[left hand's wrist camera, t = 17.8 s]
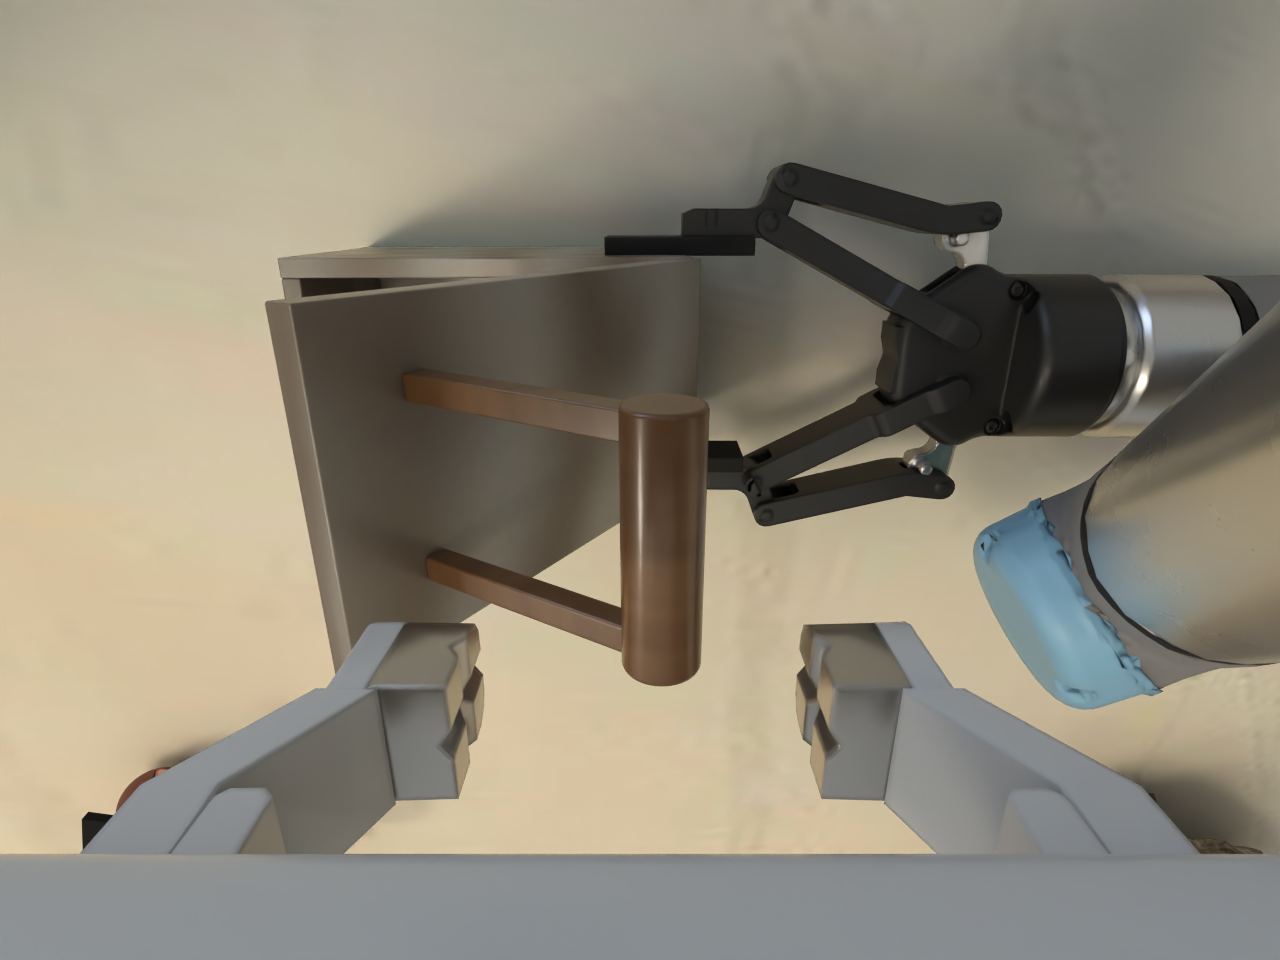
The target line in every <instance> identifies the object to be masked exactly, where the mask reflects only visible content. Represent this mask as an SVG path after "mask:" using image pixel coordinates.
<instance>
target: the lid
mask: <svg viewBox="0 0 1280 960" xmlns="http://www.w3.org/2000/svg"><path fill="white" fill-rule="evenodd" d="M699 297H700V258H674V259H665V260H655V261H646V262H636V263H627V264H617V265H607V266H598V267H588V268H579V269H569V270H559V271H550V272H540V273H531V274H521V275H512V276H502V277H492V278H483V279H473V280H464V281H454V282H444V283H435V284H425V285H416V286H406V287H397V288H387V289H377V290H368V291H358V292H349V293H339V294H329V295H320V296H310V297H301V298H291V299H282V300H272V301H267V302H265V306H266V312H267V317H268V322H269V327H270V333H271V338H272V343H273V348H274V354H275V359H276V364H277V369H278V375H279V380H280V385H281V390H282V396H283V401H284V406H285V412H286V417H287V422H288V427H289V433H290V438H291V443H292V448H293V454H294V459H295V464H296V469H297V475H298V480H299V485H300V490H301V496H302V501H303V506H304V512H305V517H306V522H307V527H308V533H309V538H310V543H311V548H312V554H313V559H314V564H315V569H316V575H317V580H318V585H319V590H320V596H321V601H322V606H323V612H324V617H325V622H326V627H327V633H328V638H329V643H330V648H331V654H332V659H333V664H334V669H335V674H336V673H337V672H338V670H339V669H340V667H341V666H342V664H343V663H344V661H345V660H346V658H347V657H348V655H349V654H350V652H351V651H352V649H353V648H354V646H355V645H356V643H357V642H358V640H359V639H360V637H361V636H362V634H363V633H364V631H365V630H366V628H367V627H368V626H369V625H370V624H372V623H375V622H406V623H409V622H419V623H461V622H462V621H464V620H465V619H467V618H469V617H470V616H472V615H473V614H475V613H476V612H478V611H480V610H481V609H483V608H484V607H486V606H488V605H489V604H491V603H492V604H495V605H497V606H500V607H503V608H505V609H508V610H511V611H513V612H516V613H519V614H521V615H524V616H527V617H529V618H532V619H535V620H537V621H540V622H543V623H545V624H548V625H551V626H553V627H556V628H559V629H561V630H564V631H567V632H569V633H572V634H575V635H577V636H580V637H583V638H585V639H588V640H591V641H593V642H596V643H599V644H601V645H604V646H607V647H609V648H612V649H614V650H617V651H620V652H622V664H623V667H624V669H625V671H626V672H627V673H628V674H629V675H630V676H631V677H632V678H633V679H635V680H637V681H639V682H641V683H644V684H648V685H653V686H672V685H677V684H680V683H683V682H685V681H687V680H689V679H690V678H692V677H693V676H694V675H695V674H696V673H697V671H698V669H699V667H700V664H701V642H702V613H703V583H704V554H705V524H706V495H707V466H708V436H709V406H708V404H707V403H706V402H705V401H703V400H701V399H698V398H697V371H698V334H699ZM618 523H620V560H621V608H620V607H617V606H614V605H611V604H608V603H605V602H602V601H599V600H596V599H593V598H590V597H587V596H584V595H581V594H579V593H576V592H573V591H570V590H567V589H564V588H561V587H558V586H555V585H552V584H549V583H546V582H543V581H540V580H537V579H534V578H532V577H534V576H535V575H537V574H539V573H540V572H542V571H543V570H545V569H546V568H548V567H550V566H551V565H553V564H554V563H556V562H558V561H559V560H561V559H562V558H564V557H566V556H567V555H569V554H570V553H572V552H573V551H575V550H577V549H578V548H580V547H581V546H583V545H585V544H586V543H588V542H589V541H591V540H593V539H594V538H596V537H597V536H599V535H601V534H602V533H604V532H605V531H607V530H608V529H610V528H612V527H613V526H615V525H616V524H618Z"/></svg>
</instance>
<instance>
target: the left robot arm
mask: <svg viewBox="0 0 1280 960" xmlns="http://www.w3.org/2000/svg"><path fill="white" fill-rule="evenodd" d="M479 652H480V641H479V633H478V629H477V627H476V625H475V624H469V623H419V622H409V623H406V622H375V623H372V624H370V625H369V626H368V627H367V628H366V630H365V631H364V633H363V634H362V636H361V637H360V639H359V640H358V642H357V643H356V645H355V646H354V648H353V649H352V651H351V652H350V654H349V655H348V657H347V658H346V660H345V661H344V663H343V664H342V666H341V667H340V669H339V670H338V672H337V673H336V675H335V676H334V678H333V679H332V681H331V682H330V684H329V685H328V687H327V688H326V689H314V690H312V691H310V692H308V693H307V694H305V695H303V696H301V697H299V698H298V699H296V700H294V701H292V702H290V703H288V704H287V705H285V706H283V707H281V708H279V709H278V710H276V711H274V712H272V713H270V714H268V715H267V716H265V717H263V718H261V719H259V720H257V721H256V722H254V723H252V724H250V725H248V726H247V727H245V728H243V729H241V730H239V731H237V732H236V733H234V734H232V735H230V736H228V737H227V738H225V739H223V740H221V741H219V742H217V743H216V744H214V745H212V746H210V747H208V748H206V749H205V750H203V751H201V752H199V753H197V754H196V755H194V756H192V757H190V758H188V759H186V760H185V761H183V762H181V763H179V764H177V765H175V766H174V767H172V768H170V769H168V770H166V771H165V772H163V773H161V774H159V775H157V776H155V777H154V778H152V779H150V780H148V781H146V782H145V783H143V784H141V785H140V786H139V787H138V788H137V789H136V790H135V791H134V792H133V794H132V795H131V796H130V797H129V798H128V799H127V800H126V802H125V803H124V804H123V805H122V806H121V807H120V808H119V809H118V811H117V812H116V813H115V814H114V815H113V816H112V817H111V819H110V820H109V821H108V822H107V823H106V824H105V825H104V826H103V828H102V829H101V830H100V831H99V832H98V833H97V834H96V836H95V837H94V838H93V839H92V840H91V841H90V842H89V844H88V845H87V846H86V847H85V848H84V849H83V850H82V851H81V853H80V854H0V960H1280V854H1200V853H1199V851H1198V850H1197V849H1196V848H1195V847H1194V846H1193V845H1192V843H1191V842H1190V841H1189V840H1188V839H1187V838H1186V837H1185V835H1184V834H1183V833H1182V832H1181V831H1180V830H1179V829H1178V827H1177V826H1176V825H1175V824H1174V823H1173V822H1172V821H1171V819H1170V818H1169V817H1168V816H1167V815H1166V814H1165V813H1164V811H1163V810H1162V809H1161V808H1160V807H1159V806H1158V805H1157V803H1156V802H1155V801H1154V800H1153V799H1152V798H1151V797H1150V795H1149V794H1148V793H1147V792H1146V791H1145V790H1144V789H1143V787H1142V786H1140V785H1139V784H1137V783H1135V782H1133V781H1131V780H1129V779H1128V778H1126V777H1124V776H1122V775H1120V774H1119V773H1117V772H1115V771H1113V770H1111V769H1109V768H1108V767H1106V766H1104V765H1102V764H1100V763H1099V762H1097V761H1095V760H1093V759H1091V758H1090V757H1088V756H1086V755H1084V754H1082V753H1080V752H1079V751H1077V750H1075V749H1073V748H1071V747H1070V746H1068V745H1066V744H1064V743H1062V742H1060V741H1059V740H1057V739H1055V738H1053V737H1051V736H1050V735H1048V734H1046V733H1044V732H1042V731H1040V730H1039V729H1037V728H1035V727H1033V726H1031V725H1030V724H1028V723H1026V722H1024V721H1022V720H1021V719H1019V718H1017V717H1015V716H1013V715H1011V714H1010V713H1008V712H1006V711H1004V710H1002V709H1001V708H999V707H997V706H995V705H993V704H991V703H990V702H988V701H986V700H984V699H982V698H981V697H979V696H977V695H975V694H973V693H971V692H970V691H968V690H966V689H954V688H953V687H952V685H951V684H950V682H949V681H948V679H947V678H946V676H945V675H944V673H943V672H942V670H941V669H940V667H939V666H938V664H937V663H936V661H935V660H934V659H933V657H932V656H931V654H930V653H929V651H928V650H927V648H926V647H925V645H924V644H923V642H922V641H921V639H920V638H919V636H918V635H917V633H916V632H915V630H914V629H913V627H912V626H911V625H910V624H908V623H907V622H881V623H853V624H814V625H804V626H803V629H802V633H801V639H800V652H801V655H802V658H803V660H804V663H805V666H804V667H803V669H802V670H801V671H800V672H799V673H798V674H797V682H796V711H797V718H798V723H799V728H800V731H801V735H802V738H803V740H804V741H806V742H807V743H808V744H809V745H811V746H812V747H811V757H810V764H811V767H812V770H813V773H814V776H815V780H816V783H817V786H818V789H819V792H820V795H821V798H822V799H847V800H883V801H884V804H885V805H886V806H887V807H888V808H889V809H891V810H892V811H893V812H894V813H895V814H896V815H897V816H898V817H899V818H900V819H901V820H902V821H903V822H904V823H905V824H906V825H907V826H908V827H909V828H910V829H911V830H912V831H914V832H915V833H916V834H917V835H918V836H919V837H920V838H921V839H922V840H923V841H924V842H925V843H926V844H927V845H928V846H929V847H930V848H931V849H932V850H933V851H934V852H936V853H937V854H344V853H345V852H346V851H347V850H348V849H349V848H350V847H351V846H352V845H353V844H354V843H355V842H356V841H357V840H358V839H359V838H360V837H362V836H363V835H364V834H365V833H366V832H367V831H368V830H369V829H370V828H371V827H372V826H373V825H374V824H375V823H376V822H377V821H378V820H379V819H380V818H381V817H383V816H384V815H385V814H386V813H387V812H388V811H389V810H390V809H391V808H392V807H393V806H394V805H395V804H396V803H395V801H397V800H432V799H459V795H460V792H461V789H462V786H463V783H464V780H465V777H466V773H467V770H468V767H469V764H470V757H469V747H468V746H469V745H471V744H472V743H473V742H474V741H476V740H477V738H478V735H479V731H480V728H481V724H482V717H483V709H484V680H483V674H482V673H481V672H480V671H479V670H478V669H477V667H476V666H475V663H476V660H477V658H478V655H479Z"/></svg>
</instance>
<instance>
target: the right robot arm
mask: <svg viewBox="0 0 1280 960" xmlns="http://www.w3.org/2000/svg"><path fill="white" fill-rule="evenodd" d="M794 200H797V201H801V202H805V203H808V204H812V205H815V206H819V207H823V208H826V209H830V210H834V211H837V212H841V213H845V214H848V215H852V216H856V217H859V218H863V219H866V220H870V221H874V222H877V223H881V224H885V225H888V226H892V227H896V228H899V229H903V230H906V231H911V232H916V233H926V234H934V243H935V246H936V247H937V248H938V249H939V250H941V251H944V252H949V253H951V254H953V256H954V257H955V259H956V263H957V266H955V267H953V268H952V269H950V270H949V271H947V272H946V273H944V274H943V275H941V276H940V277H939V278H937V279H936V280H934V281H933V282H931V283H930V284H928V285H927V286H925V287H924V288H922V289H921V290H919V291H918V290H916V289H914V288H913V287H911V286H909V285H907V284H905V283H903V282H901V281H899V280H897V279H895V278H893V277H892V276H890V275H888V274H887V273H885V272H883V271H881V270H880V269H878V268H876V267H875V266H873V265H871V264H870V263H868V262H866V261H864V260H863V259H861V258H859V257H858V256H856V255H854V254H852V253H851V252H849V251H847V250H846V249H844V248H842V247H840V246H839V245H837V244H835V243H834V242H832V241H830V240H829V239H827V238H825V237H823V236H822V235H820V234H818V233H817V232H815V231H813V230H811V229H810V228H808V227H806V226H805V225H803V224H801V223H799V222H798V221H796V220H794V219H793V218H791V217H789V216H788V214H789V211H790V209H791V206H792V204H793V202H794ZM1001 218H1002V209H1001V208H1000V206H999V205H998V204H997V203H995V202H964V203H955V204H946V205H944V204H940V203H937V202H933V201H930V200H926V199H922V198H919V197H915V196H912V195H908V194H904V193H901V192H897V191H894V190H890V189H887V188H883V187H879V186H876V185H872V184H869V183H865V182H861V181H858V180H854V179H851V178H847V177H844V176H840V175H836V174H833V173H829V172H826V171H822V170H818V169H815V168H811V167H808V166H804V165H801V164H797V163H787V164H783V165H781V166H778V167H776V168H774V169H773V170H772V171H771V172H770V173H769V175H768V177H767V183H766V186H765V188H764V191H763V193H762V196H761V198H760V200H759V201H758V202H757V203H756V204H755V205H754V206H753V207H750V208H747V209H691V210H689V211H686V212H684V213H682V214H681V236H606V237H605V255H688V256H755V239H756V238H762V239H763V240H765V241H767V242H769V243H770V244H772V245H774V246H776V247H777V248H779V249H781V250H783V251H784V252H786V253H788V254H790V255H791V256H793V257H795V258H797V259H798V260H800V261H802V262H803V263H805V264H807V265H809V266H810V267H812V268H814V269H816V270H817V271H819V272H821V273H823V274H824V275H826V276H828V277H830V278H831V279H833V280H835V281H836V282H838V283H840V284H842V285H843V286H845V287H847V288H849V289H850V290H852V291H854V292H856V293H857V294H859V295H861V296H863V297H864V298H866V299H867V300H869V301H870V302H872V303H874V304H875V305H877V306H879V307H881V308H882V309H884V310H886V311H888V312H889V313H891V314H890V315H889V317H888V319H887V321H883V324H882V332H881V340H882V347H883V355H882V358H881V360H880V363H879V365H878V368H877V373H876V382H875V384H876V385H877V386H879V387H878V388H876V389H874V390H872V391H870V392H868V393H866V394H864V395H862V396H860V397H859V398H858V399H857V400H856V402H854V403H853V404H851V405H849V406H847V407H844V408H842V409H840V410H838V411H836V412H834V413H832V414H830V415H828V416H826V417H824V418H822V419H820V420H818V421H815V422H813V423H811V424H809V425H807V426H805V427H803V428H801V429H799V430H797V431H795V432H793V433H791V434H789V435H786V436H784V437H782V438H780V439H778V440H776V441H774V442H772V443H770V444H768V445H766V446H764V447H762V448H759V449H757V450H755V451H753V452H751V453H749V454H747V455H745V456H743V455H742V453H741V450H740V448H739V445H738V443H737V441H708V466H707V489H718V490H739V491H741V492H743V493H744V494H745V495H746V496H747V498H748V501H749V504H750V507H751V510H752V512H753V515H754V518H755V520H756V522H757V523H758V524H759V525H761V526H772V525H776V524H781V523H785V522H790V521H794V520H799V519H803V518H808V517H812V516H817V515H821V514H826V513H831V512H835V511H840V510H844V509H849V508H853V507H858V506H862V505H867V504H871V503H876V502H881V501H885V500H890V499H894V498H899V497H903V496H912V497H922V498H932V499H945V498H947V497H949V496H950V495H951V494H952V493H953V491H954V489H955V484H954V481H953V480H952V479H951V478H950V477H948V473H949V469H950V465H951V462H952V458H953V455H954V451H955V447H956V445H959V444H962V443H964V442H966V441H968V440H970V439H973V438H976V437H980V436H1073V435H1077V434H1079V433H1080V434H1082V435H1084V436H1091V437H1121V436H1137V437H1136V438H1135V439H1133V440H1132V441H1131V442H1130V443H1129V444H1128V445H1127V446H1126V447H1125V448H1124V449H1123V450H1122V451H1121V452H1120V453H1119V454H1118V455H1117V456H1116V457H1115V458H1113V459H1112V460H1111V461H1110V462H1109V463H1108V464H1107V465H1105V466H1104V467H1103V468H1102V469H1101V470H1099V471H1098V472H1097V473H1096V474H1095V475H1094V476H1093V477H1092V478H1090V479H1089V480H1087V481H1085V482H1083V483H1082V484H1080V485H1078V486H1076V487H1073V488H1071V489H1069V490H1067V491H1065V492H1062V493H1060V494H1057V495H1055V496H1052V497H1050V498H1047V499H1045V500H1042V501H1041V498H1038V499H1036V500H1033V501H1031V502H1030V503H1029V505H1028V506H1027V508H1025V509H1023V510H1021V511H1019V512H1017V513H1015V514H1012V515H1010V516H1008V517H1006V518H1004V519H1002V520H1000V521H998V522H996V523H994V524H992V525H990V526H988V527H986V528H985V529H984V530H983V531H982V532H980V534H979V535H978V537H977V539H976V541H975V544H974V549H973V557H974V564H975V569H976V572H977V575H978V578H979V581H980V584H981V586H982V589H983V591H984V593H985V596H986V598H987V600H988V602H989V605H990V607H991V609H992V611H993V613H994V614H995V616H996V618H997V620H998V622H999V624H1000V626H1001V627H1002V629H1003V631H1004V633H1005V634H1006V636H1007V638H1008V639H1009V641H1010V643H1011V644H1012V646H1013V648H1014V649H1015V651H1016V652H1017V654H1018V655H1019V657H1020V658H1021V660H1022V661H1023V662H1024V664H1025V665H1026V667H1027V668H1028V669H1029V671H1030V672H1031V673H1032V675H1033V676H1034V677H1035V678H1036V680H1037V681H1038V682H1039V683H1040V684H1041V685H1042V686H1043V687H1044V688H1045V689H1046V691H1047V692H1049V693H1050V694H1051V695H1052V696H1053V697H1055V698H1056V699H1057V700H1059V701H1061V702H1062V703H1064V704H1066V705H1068V706H1071V707H1073V708H1078V709H1095V708H1099V707H1102V706H1105V705H1109V704H1112V703H1115V702H1118V701H1121V700H1124V699H1128V698H1131V697H1134V696H1137V695H1140V694H1145V695H1149V696H1153V695H1156V694H1158V693H1161V692H1163V691H1162V690H1160V689H1161V688H1164V687H1165V686H1168V685H1170V684H1173V683H1175V682H1178V681H1180V680H1183V679H1186V678H1189V677H1192V676H1195V675H1198V674H1201V673H1205V672H1208V671H1211V670H1215V669H1219V668H1235V667H1255V666H1261V665H1269V664H1276V663H1280V275H1267V276H1211V275H1103V276H1101V277H1098V278H1097V277H1095V276H1092V275H1086V274H1003V273H1000V272H998V271H997V270H995V269H994V268H992V267H990V266H988V265H987V259H988V245H989V231H990V230H993V229H994V228H995V227H997V226H998V224H999V223H1000V221H1001ZM912 425H916V426H917V427H919V428H920V429H921V430H922V431H924V432H925V433H926V434H928V435H929V436H930V438H929V440H928V442H927V443H926V444H925V445H924V446H922V447H920V448H914V449H911V450H907V451H906V452H905V453H904V457H903V458H885V459H880V460H875V461H870V462H866V463H861V464H857V465H853V466H848V467H844V468H839V469H835V470H830V471H826V472H822V473H817V474H813V475H808V476H804V477H800V478H795V479H791V480H787V479H790V478H792V477H794V476H796V475H798V474H800V473H802V472H804V471H807V470H809V469H811V468H813V467H815V466H817V465H819V464H821V463H824V462H826V461H828V460H830V459H832V458H834V457H836V456H839V455H841V454H843V453H845V452H847V451H849V450H851V449H853V448H856V447H858V446H860V445H862V444H864V443H866V442H868V441H870V440H873V439H875V438H877V437H887V436H891V435H893V434H895V433H897V432H900V431H902V430H904V429H906V428H908V427H910V426H912ZM785 480H786V481H785Z"/></svg>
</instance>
